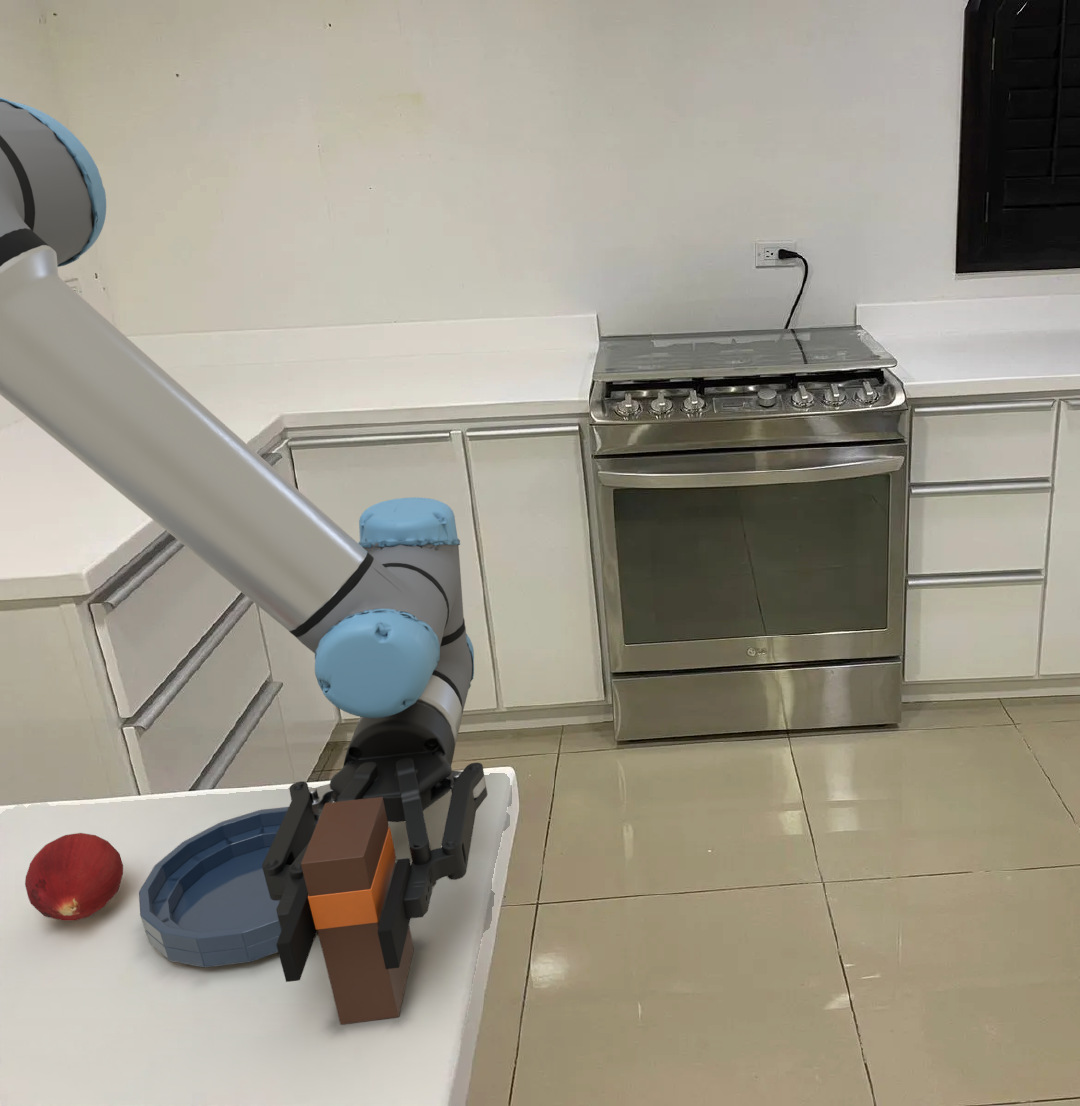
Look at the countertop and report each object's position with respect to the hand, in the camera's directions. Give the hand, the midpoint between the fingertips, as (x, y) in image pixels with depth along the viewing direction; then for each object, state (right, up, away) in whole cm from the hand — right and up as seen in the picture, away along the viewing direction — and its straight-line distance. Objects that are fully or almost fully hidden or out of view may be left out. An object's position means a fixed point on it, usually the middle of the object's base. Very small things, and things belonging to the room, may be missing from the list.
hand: (338, 955), depth 61 cm
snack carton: (0, -5, +8) cm, 9 cm away
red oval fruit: (-26, +1, +18) cm, 32 cm away
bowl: (-11, -2, +16) cm, 20 cm away
